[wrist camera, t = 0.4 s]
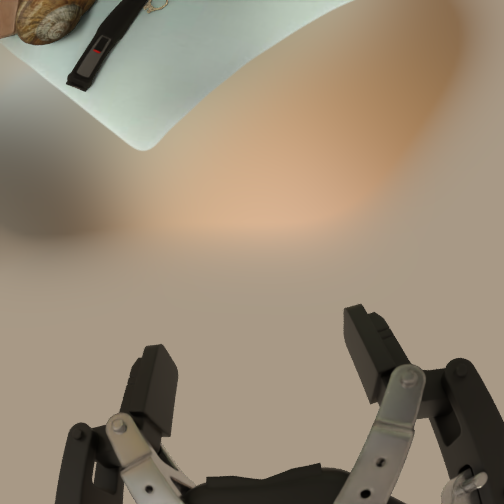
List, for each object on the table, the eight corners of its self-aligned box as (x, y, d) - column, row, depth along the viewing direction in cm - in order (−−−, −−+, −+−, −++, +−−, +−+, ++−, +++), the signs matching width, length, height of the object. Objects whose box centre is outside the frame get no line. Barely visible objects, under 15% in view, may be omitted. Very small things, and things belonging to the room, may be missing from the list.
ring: (172, 1, 20) (150, 15, 20) (172, 2, 20) (151, 16, 21) (161, -11, 18) (139, 4, 19) (161, -9, 19) (140, 5, 19)
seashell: (61, 53, 21) (30, 64, 15) (25, 24, 15) (-10, 31, 9) (122, -12, 17) (99, -20, 11) (80, -41, 11) (52, -51, 5)
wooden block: (13, 33, 13) (23, -20, 8) (-7, 41, 12) (1, -11, 6) (29, 30, 16) (39, -20, 10) (9, 36, 15) (17, -12, 9)
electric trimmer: (157, -4, 20) (159, -5, 18) (87, 91, 26) (83, 99, 25) (134, -17, 17) (134, -19, 15) (64, 82, 23) (59, 89, 22)
